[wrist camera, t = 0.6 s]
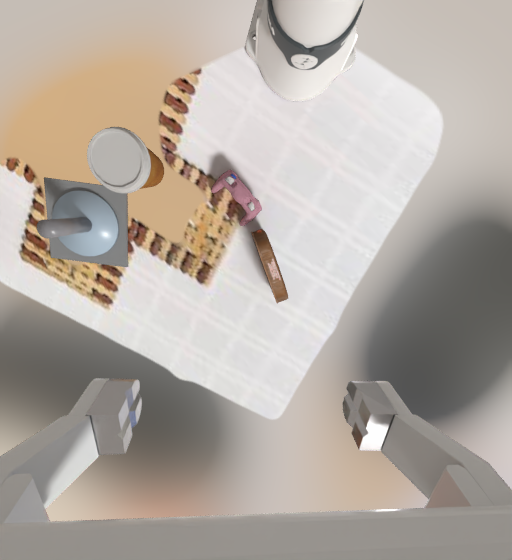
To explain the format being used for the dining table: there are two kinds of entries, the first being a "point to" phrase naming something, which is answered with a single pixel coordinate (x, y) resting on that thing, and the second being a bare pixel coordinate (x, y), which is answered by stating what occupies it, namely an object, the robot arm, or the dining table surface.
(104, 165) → the disposable coffee cup
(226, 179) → the video game controller
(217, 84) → the dining table surface
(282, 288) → the tin
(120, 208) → the mat
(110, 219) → the lid
